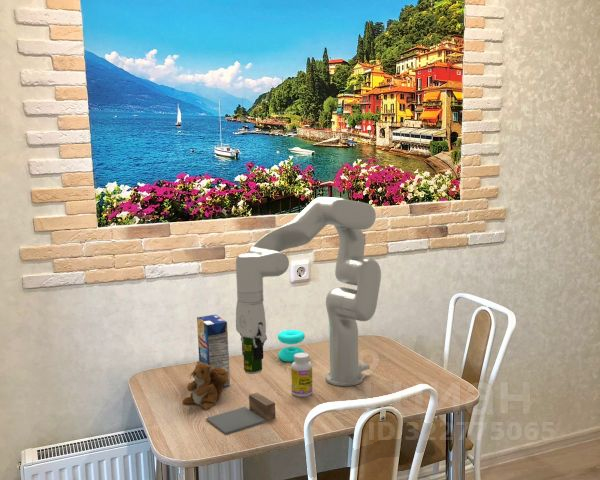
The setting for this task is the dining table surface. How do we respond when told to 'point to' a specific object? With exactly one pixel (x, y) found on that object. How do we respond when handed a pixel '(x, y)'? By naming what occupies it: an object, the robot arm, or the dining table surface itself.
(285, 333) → the donuts
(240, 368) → the dining table surface
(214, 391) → the stuffed squirrel
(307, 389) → the supplement bottle
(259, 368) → the beer can
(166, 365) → the dining table surface
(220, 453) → the dining table surface
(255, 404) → the walnut ledge
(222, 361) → the beverage box
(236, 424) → the rubber mat
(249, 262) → the robot arm
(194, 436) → the dining table surface
